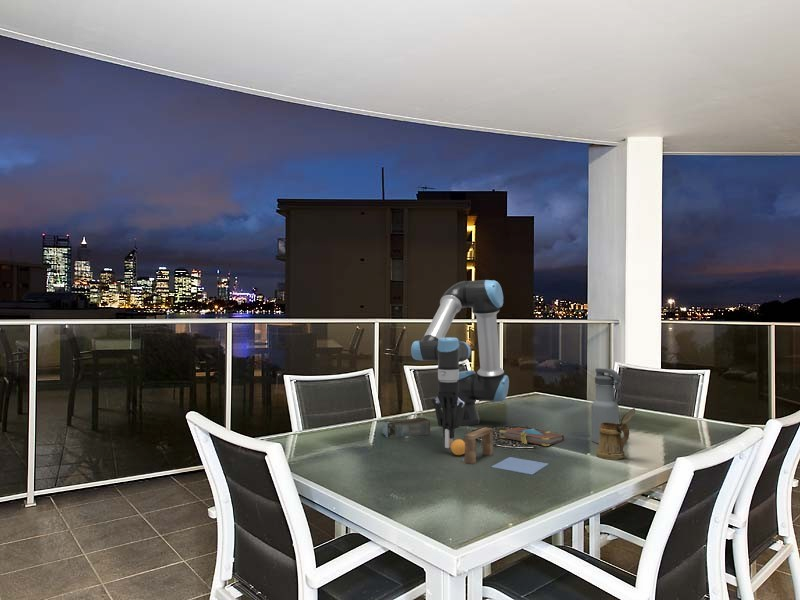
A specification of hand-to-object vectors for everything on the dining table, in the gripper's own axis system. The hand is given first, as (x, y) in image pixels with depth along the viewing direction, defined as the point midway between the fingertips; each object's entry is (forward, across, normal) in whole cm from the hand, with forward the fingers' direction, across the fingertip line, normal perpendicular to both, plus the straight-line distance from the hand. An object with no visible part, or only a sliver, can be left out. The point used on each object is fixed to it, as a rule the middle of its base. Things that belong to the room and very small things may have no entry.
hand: (448, 447), depth 191 cm
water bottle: (+2, +40, +49) cm, 63 cm away
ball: (-1, +4, 0) cm, 4 cm away
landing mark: (+2, +27, +1) cm, 27 cm away
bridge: (+2, +12, 0) cm, 12 cm away
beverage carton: (+3, -29, +14) cm, 33 cm away
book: (+3, +13, +36) cm, 39 cm away
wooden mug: (+2, +50, +29) cm, 58 cm away
